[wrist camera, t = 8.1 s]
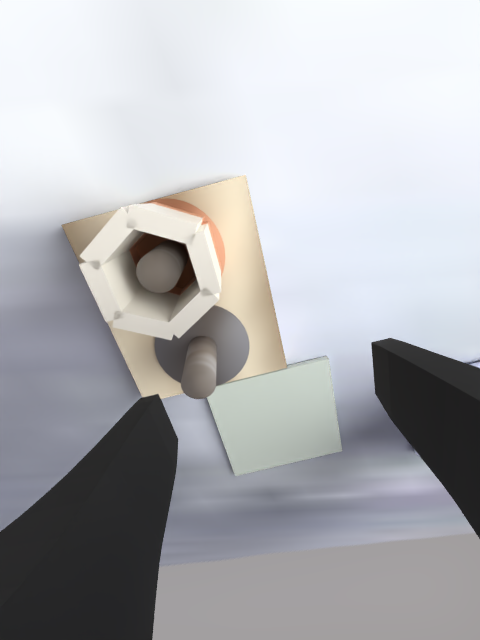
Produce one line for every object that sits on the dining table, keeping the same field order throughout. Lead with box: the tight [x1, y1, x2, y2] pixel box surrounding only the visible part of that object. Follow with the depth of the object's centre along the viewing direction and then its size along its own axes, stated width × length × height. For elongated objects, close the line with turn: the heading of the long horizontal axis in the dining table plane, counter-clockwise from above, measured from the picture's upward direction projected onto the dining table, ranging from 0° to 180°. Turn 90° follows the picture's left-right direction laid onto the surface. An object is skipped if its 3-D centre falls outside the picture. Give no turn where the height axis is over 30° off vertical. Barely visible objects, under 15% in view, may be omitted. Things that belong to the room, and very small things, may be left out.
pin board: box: [62, 175, 287, 399], centre depth 16 cm, size 10×12×5 cm
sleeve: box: [79, 202, 221, 340], centre depth 14 cm, size 5×6×5 cm
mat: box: [207, 356, 342, 476], centre depth 22 cm, size 9×9×1 cm
